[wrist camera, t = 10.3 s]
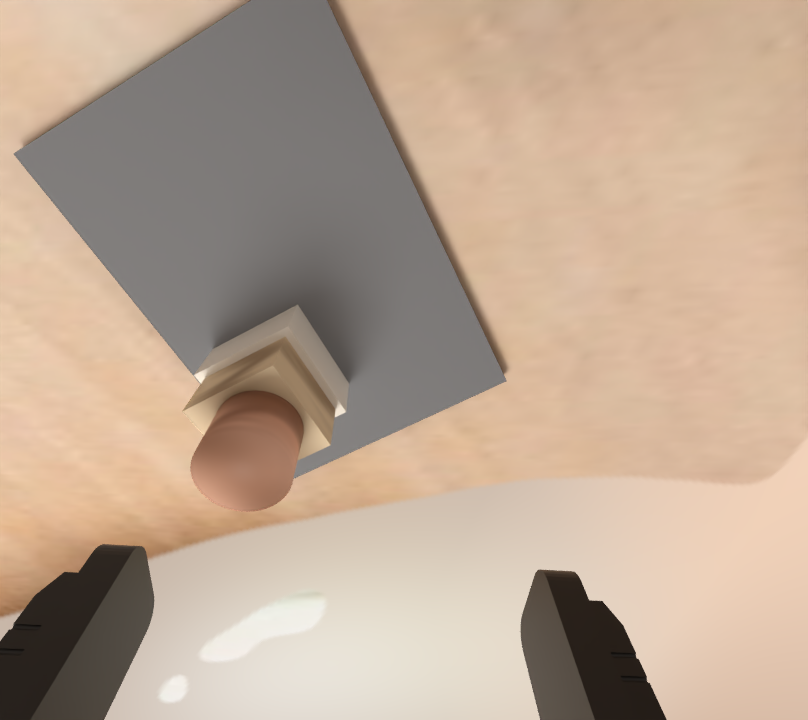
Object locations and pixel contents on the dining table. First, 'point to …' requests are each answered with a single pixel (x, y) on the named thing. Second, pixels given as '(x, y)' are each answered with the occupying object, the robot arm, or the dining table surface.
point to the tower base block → (301, 340)
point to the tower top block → (270, 373)
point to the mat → (271, 214)
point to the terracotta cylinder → (249, 452)
